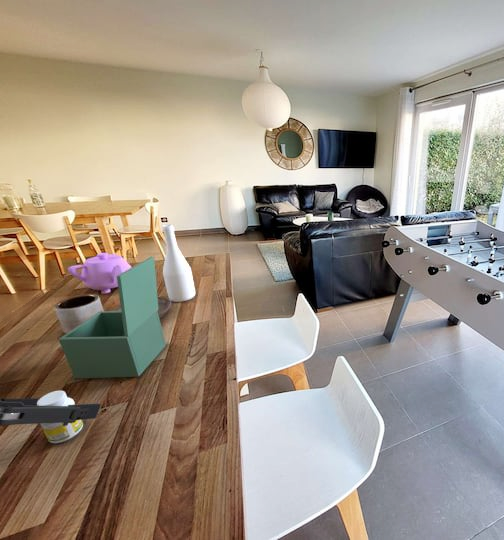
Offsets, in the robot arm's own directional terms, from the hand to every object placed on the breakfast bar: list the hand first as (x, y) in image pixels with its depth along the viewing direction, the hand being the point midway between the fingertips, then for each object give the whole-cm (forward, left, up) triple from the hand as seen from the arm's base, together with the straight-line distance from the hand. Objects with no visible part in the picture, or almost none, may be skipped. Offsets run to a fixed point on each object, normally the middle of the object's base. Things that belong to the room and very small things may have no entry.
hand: (66, 408), depth 60 cm
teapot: (-38, +69, -5) cm, 79 cm away
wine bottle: (-5, +61, -5) cm, 61 cm away
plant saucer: (-12, +47, -5) cm, 48 cm away
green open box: (-3, +22, -5) cm, 22 cm away
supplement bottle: (0, -1, -5) cm, 6 cm away
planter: (-26, +40, -5) cm, 48 cm away
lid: (+5, +22, +16) cm, 27 cm away
